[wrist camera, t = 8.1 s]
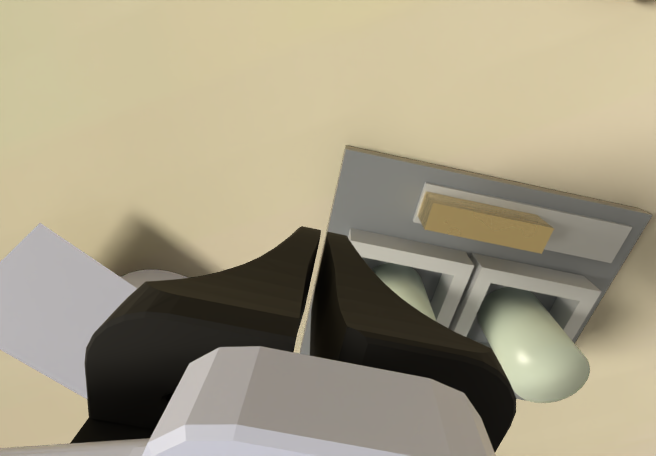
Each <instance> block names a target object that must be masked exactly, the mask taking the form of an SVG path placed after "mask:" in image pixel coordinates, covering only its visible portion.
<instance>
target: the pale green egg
mask: <svg viewBox="0 0 656 456" xmlns="http://www.w3.org/2000/svg"><path fill="white" fill-rule="evenodd" d="M477 320H478V322H479V325H480V327H481V328H482V330H483V332H484V334H485V336H486V338H487V340H488V342H489V344H490V346H491V348H492V350H493V352H494V353H495V355H496V357H497V359H498V361H499V362H500V364H501V366H502V368H503V370H504V372H505V374H506V376H507V378H508V380H509V382H510V384H511V386H512V388H513V390H514V392H515V393H516V394H517V395H518V396H520V397H521V398H523V399H525V400H527V401H531V402H535V403H550V402H556V401H559V400H562V399H565V398H567V397H569V396H571V395H573V394H574V393H576V392H577V391H578V390H579V389H580V388H581V387H582V386H583V385H584V384H585V382H586V381H587V379H588V376H589V373H590V366H589V362H588V360H587V358H586V357H585V356H584V355H583V354H582V352H581V351H580V350H579V349H578V347H577V346H576V345H575V344H574V343H573V341H572V340H571V339H570V338H569V336H568V335H567V334H566V333H565V332H564V330H563V329H562V328H561V327H560V326H559V324H558V323H557V322H556V321H555V319H554V318H553V317H552V316H551V315H550V313H549V312H548V311H547V310H546V309H545V307H544V306H543V305H542V304H541V302H540V301H539V300H538V299H537V298H536V296H535V295H534V294H533V293H532V292H530V291H528V290H523V289H518V288H513V287H504V288H500V289H497V290H495V291H493V292H492V293H490V294H489V295H487V296H486V297H485V298H484V299H483V301H482V303H481V306H480V308H479V310H478V312H477Z"/></svg>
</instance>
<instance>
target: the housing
mask: <svg viewBox="0 0 656 456" xmlns="http://www.w3.org/2000/svg"><path fill="white" fill-rule="evenodd" d="M426 191H427V192H432V193H436V194H441V195H446V196H450V197H455V198H460V199H465V200H469V201H474V202H479V203H484V204H488V205H493V206H498V207H502V208H507V209H512V210H517V211H521V212H526V213H531V214H536V215H538V216H539V217H540V218H541V219H543V220H544V221H545V222H547V223H548V224H549V225H550V226H552V227H553V228H554V230H553V232H552V234H551V236H550V238H549V240H548V242H547V244H546V246H545V248H544V250H543V252H542V254H540V253H535V252H531V251H526V250H521V249H516V248H511V247H506V246H502V245H497V244H492V243H487V242H482V241H477V240H473V239H468V238H463V237H458V236H453V235H448V234H444V233H439V232H434V231H429V230H424V228H423V226H422V224H421V222H420V220H419V217H418V213H419V210H420V207H421V204H422V201H423V198H424V195H425V192H426ZM651 217H652V214H650V213H648V212H646V211H644V210H642V209H639V208H636V207H631V206H626V205H622V204H617V203H612V202H608V201H603V200H598V199H594V198H589V197H584V196H580V195H575V194H570V193H566V192H561V191H556V190H552V189H547V188H542V187H538V186H533V185H528V184H524V183H519V182H515V181H510V180H505V179H501V178H496V177H491V176H487V175H482V174H477V173H473V172H468V171H463V170H459V169H454V168H449V167H445V166H440V165H435V164H431V163H426V162H421V161H417V160H412V159H408V158H403V157H398V156H394V155H389V154H384V153H380V152H375V151H370V150H366V149H361V148H356V147H352V146H347V145H346V147H345V151H344V156H343V160H342V165H341V169H340V174H339V178H338V182H337V187H336V191H335V196H334V200H333V205H332V209H331V214H330V218H329V223H328V227H327V232H332V233H337V234H342V235H346V236H347V237H348V239H349V240H350V242H351V243H352V245H353V246H354V247H355V249H356V250H357V252H358V253H359V254H360V256H361V257H362V258H363V260H364V261H365V262H366V264H367V265H368V266H369V267H370V268H371V270H372V271H373V272H374V273H375V274H376V275H377V276H378V277H379V278H380V279H381V280H382V281H383V282H384V283H385V284H386V285H387V286H388V287H389V288H390V289H391V290H392V291H394V292H395V293H396V294H397V295H398V296H399V297H401V298H402V299H403V300H405V301H406V302H407V303H409V304H410V305H411V306H413V307H414V308H416V309H417V310H419V311H420V312H421V313H423V314H425V315H426V316H428V317H429V318H431V319H433V320H434V321H436V322H438V323H440V324H442V325H443V326H445V327H447V328H449V329H451V330H452V331H454V332H456V333H459V334H461V335H463V336H465V337H467V338H470V339H472V340H474V341H476V342H478V343H481V344H483V345H485V346H487V347H489V348H491V346H490V344H489V342H488V340H487V338H486V336H485V334H484V332H483V330H482V328H481V327H480V325H479V322H478V320H477V312H478V310H479V308H480V306H481V303H482V301H483V299H484V298H485V297H486V296H487V295H489V294H490V293H492V292H493V291H495V290H497V289H500V288H504V287H513V288H518V289H523V290H528V291H530V292H532V293H533V294H534V295H535V296H536V298H537V299H538V300H539V301H540V302H541V304H542V305H543V306H544V307H545V309H546V310H547V311H548V312H549V313H550V315H551V316H552V317H553V318H554V319H555V321H556V322H557V323H558V324H559V326H560V327H561V328H562V329H563V330H564V332H565V333H566V334H567V335H568V336H569V338H570V339H571V340H572V341H573V343H574V344H575V342H576V340H577V339H578V337H579V335H580V334H581V332H582V330H583V329H584V327H585V325H586V324H587V322H588V321H589V319H590V317H591V316H592V314H593V312H594V311H595V309H596V307H597V306H598V304H599V302H600V301H601V299H602V298H603V296H604V294H605V293H606V291H607V289H608V288H609V286H610V284H611V283H612V281H613V279H614V278H615V276H616V274H617V273H618V271H619V270H620V268H621V266H622V265H623V263H624V261H625V260H626V258H627V256H628V255H629V253H630V251H631V250H632V248H633V247H634V245H635V243H636V242H637V240H638V238H639V237H640V235H641V233H642V232H643V230H644V228H645V227H646V225H647V223H648V222H649V220H650V219H651ZM327 232H326V235H327ZM325 240H326V236H325ZM324 244H325V241H324ZM323 249H324V245H323ZM322 253H323V250H322ZM321 258H322V254H321ZM320 262H321V259H320ZM319 266H320V263H319ZM318 271H319V268H318ZM317 275H318V272H317ZM316 280H317V276H316ZM315 284H316V281H315ZM314 290H315V285H314ZM314 290H313V294H312V299H311V303H310V308H309V312H308V317H307V321H306V326H305V330H304V335H303V339H302V344H301V349H300V354H304V355H309V356H310V328H311V308H312V302H313V296H314ZM512 389H513V388H512ZM513 391H514V390H513ZM514 394H515V396H516V399H521V400H525V399H523V398H521V397H520V396H518V395H517V394H516V393H515V392H514Z"/></svg>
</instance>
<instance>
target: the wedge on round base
mask: <svg viewBox="0 0 656 456" xmlns="http://www.w3.org/2000/svg"><path fill="white" fill-rule="evenodd" d="M184 278H188V277H185V276H183V275H180V274H177V273H174V272H169V271H164V270H139V271H135V272H131V273H128V274H126V275H123V276H121V277H119V276H118V275H116V274H115V273H114V272H112V271H111V270H109V269H108V268H106V267H105V266H103V265H102V264H100V263H99V262H97V261H96V260H94V259H93V258H91V257H90V256H88V255H87V254H85V253H84V252H82V251H81V250H80V249H78V248H77V247H75V246H74V245H72V244H71V243H69V242H68V241H66V240H65V239H63V238H62V237H60V236H59V235H57V234H56V233H54V232H53V231H51V230H50V229H48V228H47V227H45V226H44V225H43V224H41V223H39V224H38V225H37V226H36V227H35V228H34V229H33V230H32V231H31V232H30V233H29V234H28V235H27V236H26V237H25V238H24V239H23V240H22V241H21V242H20V243H19V244H18V245H17V246H16V247H15V248H14V249H13V250H12V251H11V252H10V253H9V254H8V255H7V256H6V257H5V258H4V259H3V260H2V261H1V262H0V350H2V351H4V352H5V353H7V354H9V355H11V356H12V357H14V358H16V359H18V360H19V361H21V362H23V363H25V364H26V365H28V366H30V367H32V368H33V369H35V370H37V371H39V372H40V373H42V374H44V375H46V376H47V377H49V378H51V379H53V380H54V381H56V382H58V383H60V384H61V385H63V386H65V387H66V388H68V389H70V390H72V391H73V392H75V393H77V394H79V395H80V396H82V397H84V398H86V399H87V388H86V376H85V364H84V363H85V353H86V347H87V345H88V343H89V341H90V339H91V337H92V335H93V334H94V332H95V331H96V330H97V329H98V328H99V327H100V326H101V325H102V324H103V323H104V322H105V321H106V320H107V319H108V317H109V316H110V315H111V314H112V313H113V312H114V311H115V310H116V309H117V308H118V307H119V306H120V305H121V304H122V303H123V302H124V301H125V300H126V299H127V298H128V297H129V296H130V295H131V294H132V293H133V292H134V291H135V290H136V289H138V288H139V287H140V286H141V285H142V284H143V283H144V282H146V281H162V280H174V279H184Z"/></svg>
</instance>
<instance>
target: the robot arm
mask: <svg viewBox="0 0 656 456" xmlns="http://www.w3.org/2000/svg"><path fill="white" fill-rule="evenodd" d="M320 234H321V230H317V229H312V228H307V227H303V226H302V227H300V228H298V229H297V230H296V231H295V232H294V233H293V234H292V235H291V236H290V237H288V238H287V239H286V240H285V241H283V242H282V243H281V244H279V245H278V246H277V247H275V248H274V249H272V250H271V251H269V252H267V253H266V254H264V255H262V256H261V257H259V258H257V259H255V260H252V261H250V262H248V263H245V264H243V265H240V266H237V267H234V268H231V269H227V270H224V271H221V272H217V273H213V274H208V275H203V276H198V277H192V278H184V279H174V280H162V281H146V282H144V283H143V284H142V285H141V286H140V287H139V288H138V289H136V290H135V291H134V292H133V293H132V294H131V295H130V296H129V297H128V298H127V299H126V300H125V301H124V302H123V303H122V304H121V305H120V306H119V307H118V308H117V309H116V310H115V311H114V312H113V313H112V314H111V315H110V316H109V317H108V319H107V320H106V321H105V322H104V323H103V324H102V325H101V326H100V327H99V328H98V329H97V330H96V331H95V332H94V334H93V335H92V337H91V339H90V341H89V343H88V345H87V347H86V353H85V363H84V364H85V376H86V388H87V400H88V411H89V418H88V420H87V421H86V422H85V424H84V425H83V427H82V428H81V429H80V431H79V432H78V433H77V435H76V436H75V438H74V439H73V440H72V442H71V443H70V444H57V445H42V446H27V447H12V448H0V456H496V455H495V452H496V450H497V448H498V447H499V445H500V443H501V441H502V440H503V438H504V436H505V435H506V433H507V431H508V429H509V428H510V426H511V423H512V421H513V418H514V416H515V413H516V396H515V394H514V391H513V389H512V386H511V384H510V382H509V380H508V378H507V376H506V374H505V372H504V370H503V368H502V366H501V364H500V362H499V361H498V359H497V357H496V355H495V353H494V352H493V350H492V348H489V347H487V346H485V345H483V344H481V343H478V342H476V341H474V340H472V339H470V338H467V337H465V336H463V335H461V334H459V333H456V332H454V331H452V330H451V329H449V328H447V327H445V326H443V325H442V324H440V323H438V322H436V321H434V320H433V319H431V318H429V317H428V316H426V315H425V314H423V313H421V312H420V311H419V310H417V309H416V308H414V307H413V306H411V305H410V304H409V303H407V302H406V301H405V300H403V299H402V298H401V297H399V296H398V295H397V294H396V293H395V292H394V291H392V290H391V289H390V288H389V287H388V286H387V285H386V284H385V283H384V282H383V281H382V280H381V279H380V278H379V277H378V276H377V275H376V274H375V273H374V272H373V271H372V270H371V268H370V267H369V266H368V265H367V264H366V262H365V261H364V260H363V258H362V257H361V256H360V254H359V253H358V252H357V250H356V249H355V247H354V246H353V245H352V243H351V242H350V240H349V239H348V237H347V236H346V235H342V234H337V233H332V232H327V235H326V240H325V244H324V249H323V253H322V258H321V262H320V266H319V271H318V275H317V280H316V284H315V290H314V296H313V302H312V308H311V328H310V356H309V355H304V354H299V353H293V351H294V347H295V342H296V337H297V332H298V329H299V326H300V323H301V319H302V316H303V313H304V309H305V305H306V300H307V295H308V291H309V286H310V282H311V277H312V272H313V268H314V263H315V259H316V254H317V249H318V245H319V240H320Z"/></svg>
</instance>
